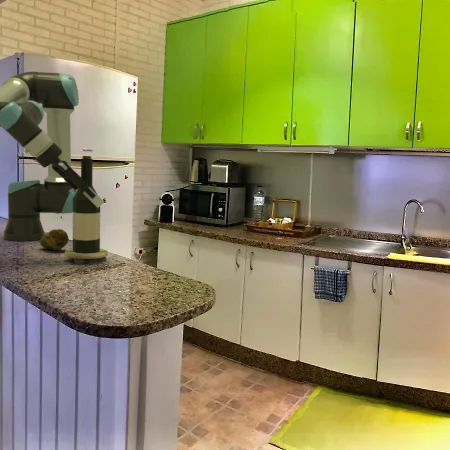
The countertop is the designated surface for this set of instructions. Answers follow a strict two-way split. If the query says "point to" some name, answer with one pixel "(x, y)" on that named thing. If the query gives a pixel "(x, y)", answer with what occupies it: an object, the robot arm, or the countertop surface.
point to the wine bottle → (86, 215)
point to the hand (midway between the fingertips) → (97, 203)
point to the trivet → (86, 256)
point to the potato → (54, 239)
